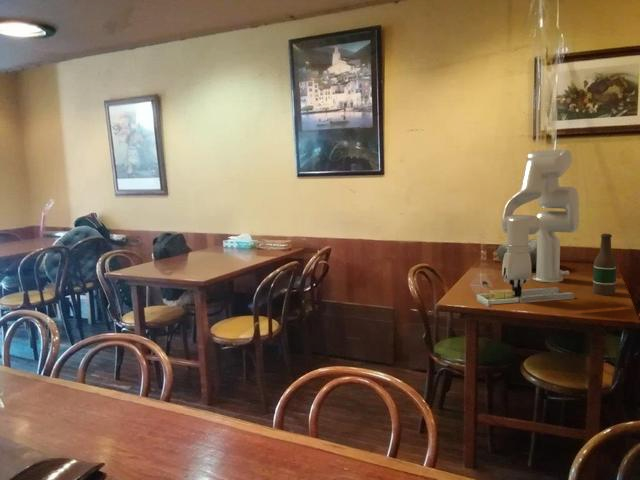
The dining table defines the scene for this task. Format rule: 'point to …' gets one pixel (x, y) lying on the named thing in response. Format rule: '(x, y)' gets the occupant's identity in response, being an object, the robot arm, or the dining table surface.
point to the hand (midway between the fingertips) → (516, 296)
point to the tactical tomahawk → (484, 284)
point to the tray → (484, 296)
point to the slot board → (543, 295)
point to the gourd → (533, 252)
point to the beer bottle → (604, 269)
